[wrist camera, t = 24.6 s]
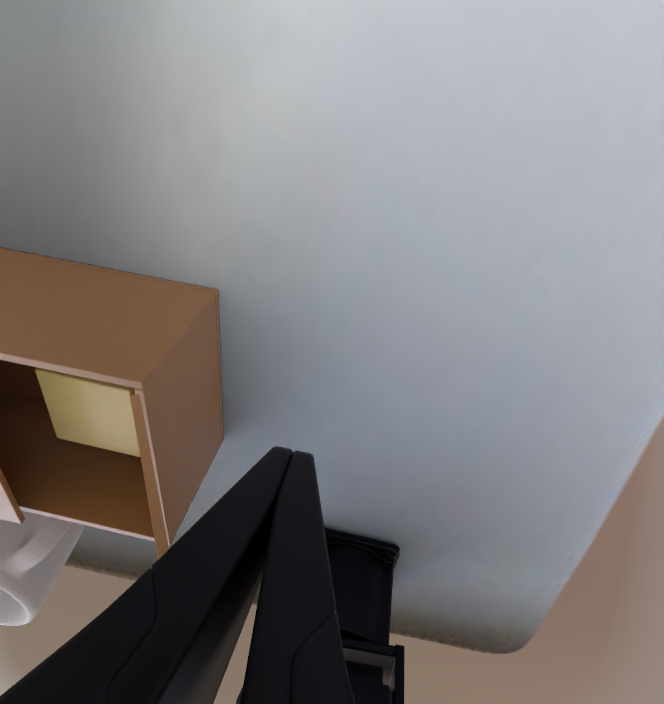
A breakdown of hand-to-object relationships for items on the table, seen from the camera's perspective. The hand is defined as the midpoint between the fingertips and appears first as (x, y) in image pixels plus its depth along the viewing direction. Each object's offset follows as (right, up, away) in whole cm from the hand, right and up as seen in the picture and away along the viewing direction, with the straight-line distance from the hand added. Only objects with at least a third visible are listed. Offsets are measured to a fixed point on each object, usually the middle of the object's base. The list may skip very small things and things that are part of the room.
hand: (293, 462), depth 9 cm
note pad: (-10, +2, +16) cm, 19 cm away
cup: (-20, -9, +26) cm, 34 cm away
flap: (-5, -5, +7) cm, 10 cm away
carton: (-13, +3, +16) cm, 21 cm away
